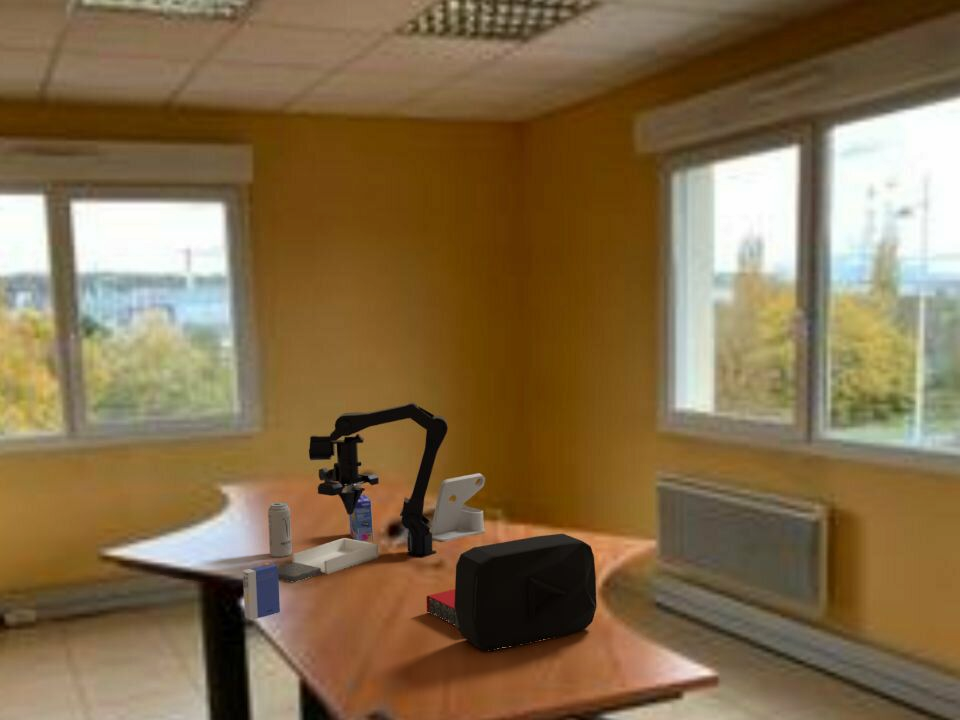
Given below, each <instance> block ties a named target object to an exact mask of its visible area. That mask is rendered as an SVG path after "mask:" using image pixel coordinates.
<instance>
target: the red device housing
mask: <svg viewBox="0 0 960 720" xmlns="http://www.w3.org/2000/svg"><path fill="white" fill-rule="evenodd" d="M454 604H455V588H454V589H453V588H452V589H450V590H449V589H448V590H445V591H442V592H438V593H433V594H429V595H426V613H427V612H430V613H429V614H431V613H432V614H431V615H433V614H435V615H437V616H436V617H437V618H438V617H439V618H438V619H441V618H443V619H442V620H443V621H444V620H447V621H448V622H447V621H446V622H447V623H449V622H450V623H449V624H451V625H452V624H455V625H456V626H455V627H456V628H457V629H458V628H459V624H458V620H457V616H456V611H455V607H454ZM435 615H434V616H435ZM440 617H441V618H440ZM458 630H460V628H459V629H458Z"/></svg>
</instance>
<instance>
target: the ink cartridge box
mask: <svg viewBox="0 0 960 720" xmlns="http://www.w3.org/2000/svg"><path fill="white" fill-rule="evenodd" d="M372 509H373V508H372V500H371V499H370V498H369V497H368V496H367V495H365V494H363V493H362V494H361V496H360V498H359V500H358V502H357V504H356V507H355V509H354V511H353V514H351V515H348V516H349V518H348V519H349V533H350V534H349V535H350V536H351V537H352V538H353V540H358V541H363V542H368V541H369V540H370V541H374V528H373V526H374V525H373V524H374V523H373V512H372Z"/></svg>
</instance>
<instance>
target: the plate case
mask: <svg viewBox="0 0 960 720" xmlns="http://www.w3.org/2000/svg"><path fill="white" fill-rule="evenodd" d="M291 554H292V555H291V556H292V557H291V558H292V559H291V560H292V563H295V562H296V563H300V564H305V565H309V566H313V567H318V568H321V573H325V574H324V575H326V574H328V575H330V574H329V573H331V574H333V573H332V572H334V571H337V572H339V571H338V570H340V571H342V570H341V569H343V570H345V569H344V568H346V569H349V568H351V567H350V566H352V567H355V566H358V565H361V564H364V563H366V562H370V561H373V560H375V558H376V559H379V558H378V557H379V544H378V543H374V542H368V541H358V540H355V539H354V538H353V539H351V538H346V537H342V538H340V539H336V540H333V541H330V542H326V543H323V544H319V545H317V546H314V547H310V548H308V549H307V548H306V549H304V550H301V551H297V552H295V553H291ZM372 559H373V560H372ZM363 562H364V563H363ZM354 565H355V566H354ZM348 567H349V568H348ZM334 573H335V572H334Z"/></svg>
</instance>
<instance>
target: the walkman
mask: <svg viewBox="0 0 960 720" xmlns="http://www.w3.org/2000/svg"><path fill="white" fill-rule="evenodd" d="M278 568H279V566H278V565H277V564H274V563H269V562H268V563H263V565H260V566H256V567H252V568H248V569H247V568H246V569H244V570H242V580H243V582H242V583H243V601H244V602H243V603H244V618H245V619H246V620H248V621H254V620H256V619H257V620H258V619H261V618H264V617H268V616H271V615H276V614H279V613H280V612H281V606H280V584H279V583H280V582H279V578H278ZM278 612H279V613H278ZM275 613H276V614H275Z"/></svg>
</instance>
